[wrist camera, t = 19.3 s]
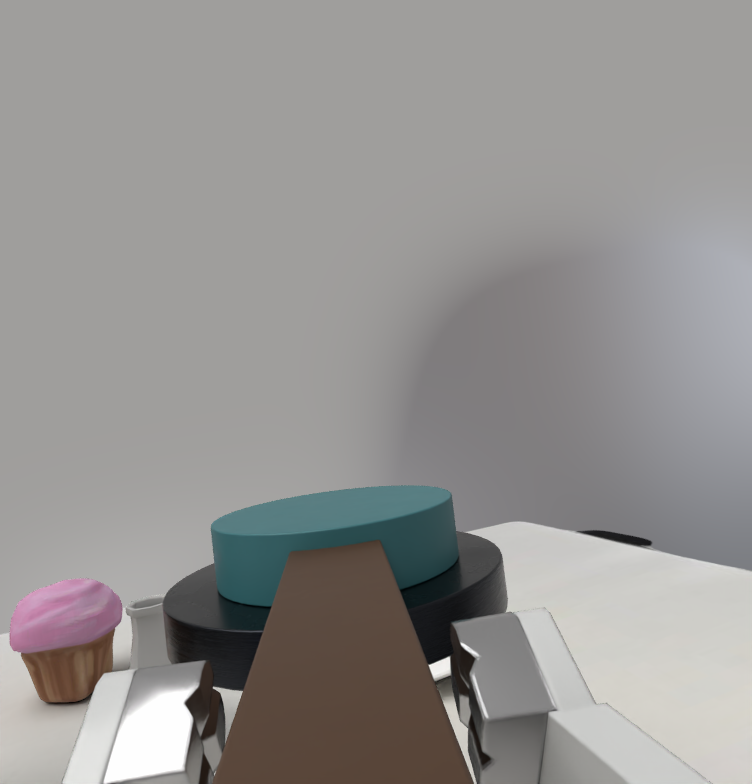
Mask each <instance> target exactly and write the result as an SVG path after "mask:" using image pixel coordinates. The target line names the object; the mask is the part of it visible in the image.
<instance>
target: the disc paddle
mask: <svg viewBox="0 0 752 784" xmlns="http://www.w3.org/2000/svg"><path fill="white" fill-rule="evenodd" d="M211 534H212V543H213V553H214V563H215V572H216V582H217V589H218V591H219V593H220V594H221V595H222V596H223V597H225V598H227V599H229V600H231V601H234V602H238V603H241V604H247V605H253V606H265V607H271V610H270V613H269V616H268V619H267V622H266V625H265V628H264V631H263V633H262V636H261V639H260V642H259V645H258V648H257V651H256V654H255V657H254V660H253V663H252V666H251V669H250V672H249V675H248V678H247V681H246V684H245V687H244V690H243V693H242V696H241V699H240V702H239V705H238V708H237V711H236V714H235V717H234V720H233V723H232V726H231V729H230V732H229V735H228V738H227V741H226V744H225V747H224V750H223V753H222V756H221V759H220V762H219V765H218V768H217V770H216V773H215V776H214V779H213V782H212V784H474V782H473V780H472V777H471V774H470V772H469V769H468V767H467V764H466V761H465V759H464V756H463V754H462V751H461V748H460V746H459V743H458V741H457V738H456V735H455V733H454V730H453V728H452V725H451V722H450V720H449V717H448V715H447V712H446V709H445V707H444V704H443V702H442V699H441V696H440V694H439V691H438V689H437V686H436V683H435V681H434V678H433V676H432V673H431V670H430V668H429V665H428V663H427V660H426V657H425V655H424V652H423V650H422V647H421V644H420V642H419V639H418V637H417V634H416V631H415V629H414V626H413V624H412V621H411V618H410V616H409V613H408V611H407V608H406V605H405V603H404V600H403V598H402V595H401V592H400V590H402V589H405V588H408V587H412V586H414V585H417V584H420V583H422V582H425V581H427V580H429V579H431V578H434V577H436V576H438V575H440V574H441V573H443V572H445V571H446V570H448V569H449V568H450V567H451V566H453V565H454V563H455V562H456V561H457V559H458V556H459V551H458V542H457V534H456V527H455V519H454V510H453V502H452V495H451V493H450V492H449V491H448V490H445V489H442V488H437V487H430V486H379V487H366V488H355V489H345V490H338V491H329V492H322V493H316V494H309V495H303V496H297V497H292V498H286V499H281V500H276V501H272V502H267V503H263V504H259V505H255V506H251V507H248V508H244V509H241V510H238V511H235V512H232V513H230V514H227V515H225V516H223V517H221V518H219V519H217V520H216V521H214V522H213V523H212V525H211Z"/></svg>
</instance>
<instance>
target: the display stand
mask: <svg viewBox="0 0 752 784" xmlns="http://www.w3.org/2000/svg"><path fill="white" fill-rule="evenodd" d="M456 534H457V542H458V551H459V556H458V559H457V561H456V562H455V563H454V565H453V566H451V567H450V568H449V569H448V570H446V571H445V572H443V573H441V574H440V575H438V576H436V577H434V578H431V579H429V580H427V581H425V582H422V583H420V584H417V585H414V586H412V587H408V588H405V589H402V590H400V592H401V595H402V598H403V600H404V603H405V605H406V608H407V611H408V613H409V616H410V618H411V621H412V624H413V626H414V629H415V631H416V634H417V637H418V639H419V642H420V644H421V647H422V650H423V652H424V655H425V657H426V660H427V663H428V665H431V664H433V663H435V662H438V661H440V660H443V659H445V658H448V657H450V656H451V655H452V654H453V653H454V651H453V647H452V644H451V640H450V625H451V622H453V621H459V620H465V619H471V618H477V617H483V616H489V615H495V614H501V613H505V612H506V609H507V601H508V598H507V590H506V582H505V574H504V566H503V558H502V554H501V552H500V549H499V548H498V547H497V546H496V545H495V544H494V543H492V542H490V541H489V540H487V539H484V538H482V537H479V536H476V535H472V534H468V533H464V532H458V531H456ZM162 608H163V618H164V628H165V637H166V647H167V655H168V659H169V660H170V662H171V664H178V663H187V662H195V661H203V660H210V663H211V666H212V669H213V671H214V681H213V687H219V688H225V689H230V690H238V691H243V690H244V687H245V684H246V681H247V678H248V675H249V672H250V669H251V666H252V663H253V660H254V657H255V654H256V651H257V648H258V645H259V642H260V639H261V636H262V633H263V631H264V628H265V625H266V622H267V619H268V616H269V613H270V610H271V607H265V606H253V605H247V604H241V603H238V602H234V601H231V600H229V599H227V598H225V597H223V596H222V595H221V594H220V593H219V591H218V589H217V582H216V572H215V563H214V564H211V565H209V566H207V567H205V568H202V569H200V570H198V571H196V572H194V573H192V574H191V575H189V576H187V577H185V578H184V579H182V580H181V581H179V582H178V583H176V584H175V585H174V586H173V587H172V588H171V589H170V590H169V591H168V592H167V594H166V595H165V597H164V600H163V603H162Z"/></svg>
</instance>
